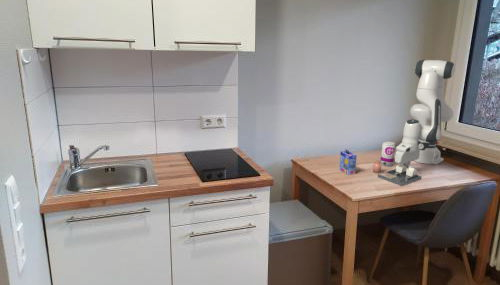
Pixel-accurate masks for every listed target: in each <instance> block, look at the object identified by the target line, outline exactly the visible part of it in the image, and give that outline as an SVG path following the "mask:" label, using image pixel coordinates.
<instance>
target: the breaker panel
mask: <svg viewBox="0 0 500 285" xmlns="http://www.w3.org/2000/svg"><path fill="white" fill-rule="evenodd" d="M406 171H407V170H406ZM406 171H405V172H402V173H399V172H396V168H395V169H391V170H388V171H387V170H386V171H384V172H381V173H377V178H379V179H381V180H385V181H387V182H390V183H393V184H395V185H398V186H405V185H408V184H411V183H414V182H418V181H421V180H422V175H419V174H416V175H414V176H408V175H406Z"/></svg>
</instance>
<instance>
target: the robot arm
mask: <svg viewBox="0 0 500 285" xmlns="http://www.w3.org/2000/svg"><path fill="white" fill-rule="evenodd" d="M455 70H456V66H455V63H454V62H452V61H449V60H447V61H446V60H440V59H421V60H418V61H417V62H416V65H415V67H414V74H415V75H416V77H418V79H419V80H418V83H417V88H416V92H415V94H416V99H417V101H418V102H419V103H415V104H413V105H412V106H411V108H409V113H410V116H411V118H412V119H408V120H406V121H405V123H404V127H403V131H402V136H403V137H402V139H401V142H400V143H399V144H398V145H397V146H396V147H395V154H394V162H395V163H396V164H398V165H399V164H402V165H404V166H406V169H409V167H410V165H411V163H412V162H413V161H414V162H417V163H421V164H426V165H427V164H428V165H438V164H440V163H441V162H443V161H444V158H443V157H441V151H440V149H439V148H438V147H437V145H439V143H440V142H439V141H440V140H441V136H442V129H441V123H449V121H451V120H452V119H453V117H454V111H453V109H452V108H451V107H450V106H449V105H448V104H447V102H446V101H445V95H444V94H445V93H444V92H445V85H446V80H448V79H450V78H452V77H453V76H454V74H455V72H456V71H455ZM429 122H431V124H430V123H429Z"/></svg>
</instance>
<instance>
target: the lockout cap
mask: <svg viewBox="0 0 500 285" xmlns="http://www.w3.org/2000/svg"><path fill="white" fill-rule="evenodd" d="M382 166H383V165H382V163H380V161H379V160H376V161H374V162H373V168H372V173H374V174H380V173H382Z"/></svg>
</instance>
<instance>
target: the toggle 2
mask: <svg viewBox="0 0 500 285" xmlns="http://www.w3.org/2000/svg"><path fill="white" fill-rule="evenodd" d="M417 171H418V169H416V168H414V167H411V166H409V168H406V175H408V176H414V175H417V173H418V172H417Z"/></svg>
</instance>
